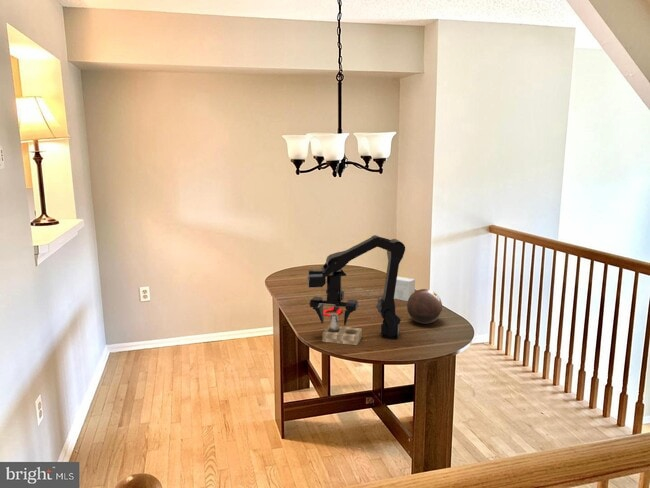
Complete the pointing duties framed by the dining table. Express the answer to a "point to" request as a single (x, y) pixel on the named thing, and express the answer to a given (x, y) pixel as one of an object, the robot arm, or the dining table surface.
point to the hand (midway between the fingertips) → (333, 324)
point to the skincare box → (404, 288)
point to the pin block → (343, 335)
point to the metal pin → (334, 322)
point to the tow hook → (336, 308)
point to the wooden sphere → (424, 306)
